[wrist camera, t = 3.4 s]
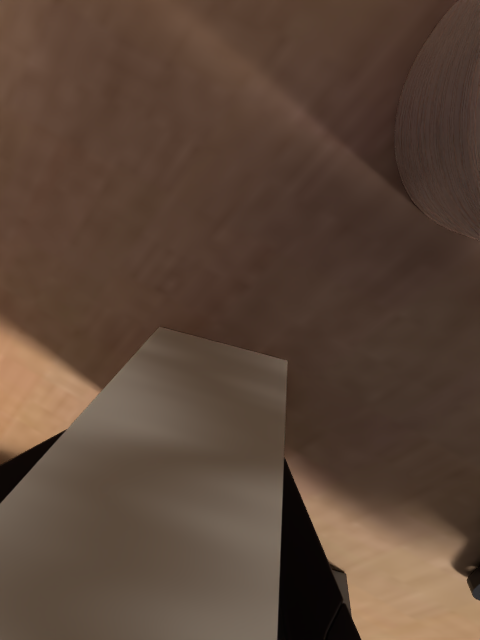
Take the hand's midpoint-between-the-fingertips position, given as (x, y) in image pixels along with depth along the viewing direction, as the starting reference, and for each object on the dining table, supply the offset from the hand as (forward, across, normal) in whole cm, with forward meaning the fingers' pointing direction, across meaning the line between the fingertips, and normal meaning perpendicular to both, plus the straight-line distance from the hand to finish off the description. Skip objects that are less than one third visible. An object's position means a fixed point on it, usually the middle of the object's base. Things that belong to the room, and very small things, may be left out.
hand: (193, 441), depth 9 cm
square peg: (+2, 0, 0) cm, 2 cm away
